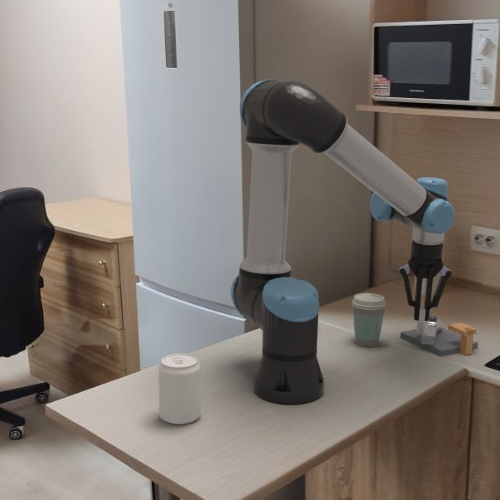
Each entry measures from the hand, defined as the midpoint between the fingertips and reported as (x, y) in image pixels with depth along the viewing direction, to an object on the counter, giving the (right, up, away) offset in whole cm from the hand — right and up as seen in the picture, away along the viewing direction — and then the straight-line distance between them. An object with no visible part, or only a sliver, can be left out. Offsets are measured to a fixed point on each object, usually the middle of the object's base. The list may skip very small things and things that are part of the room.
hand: (420, 332), depth 193 cm
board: (+5, -3, +1) cm, 6 cm away
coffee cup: (-13, -3, 0) cm, 14 cm away
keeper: (+9, -4, -4) cm, 11 cm away
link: (+3, -1, +1) cm, 3 cm away
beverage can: (-57, -12, -42) cm, 71 cm away
